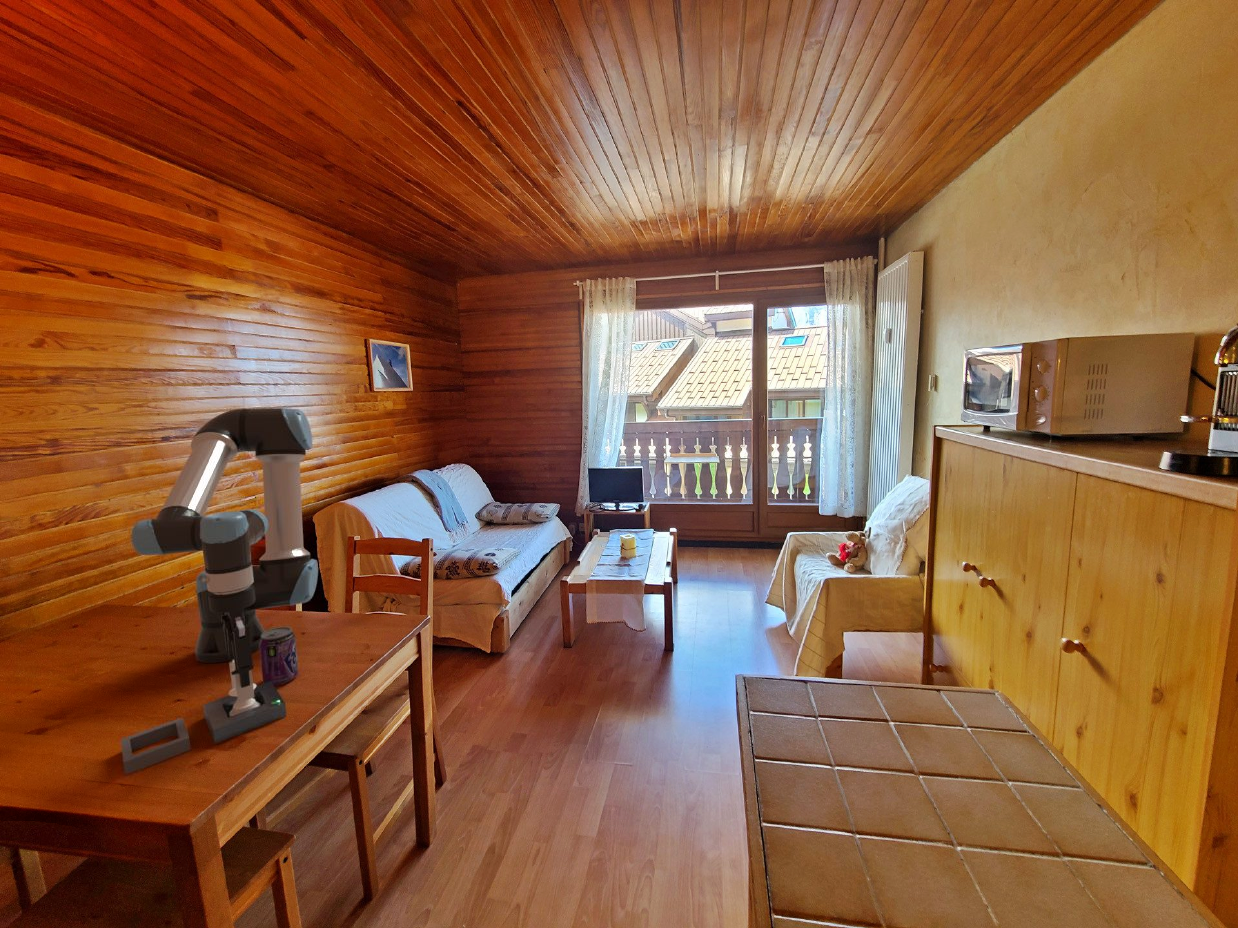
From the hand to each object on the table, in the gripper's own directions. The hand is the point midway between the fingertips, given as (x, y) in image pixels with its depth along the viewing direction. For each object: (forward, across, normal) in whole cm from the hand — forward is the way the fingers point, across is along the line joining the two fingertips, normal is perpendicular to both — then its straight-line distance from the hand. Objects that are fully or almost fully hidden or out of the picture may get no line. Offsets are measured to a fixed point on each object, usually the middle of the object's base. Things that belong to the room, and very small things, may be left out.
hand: (243, 693), depth 106 cm
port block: (+5, 0, 0) cm, 5 cm away
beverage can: (+5, -11, +9) cm, 15 cm away
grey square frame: (+5, 0, -14) cm, 15 cm away
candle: (+4, 0, 0) cm, 4 cm away
